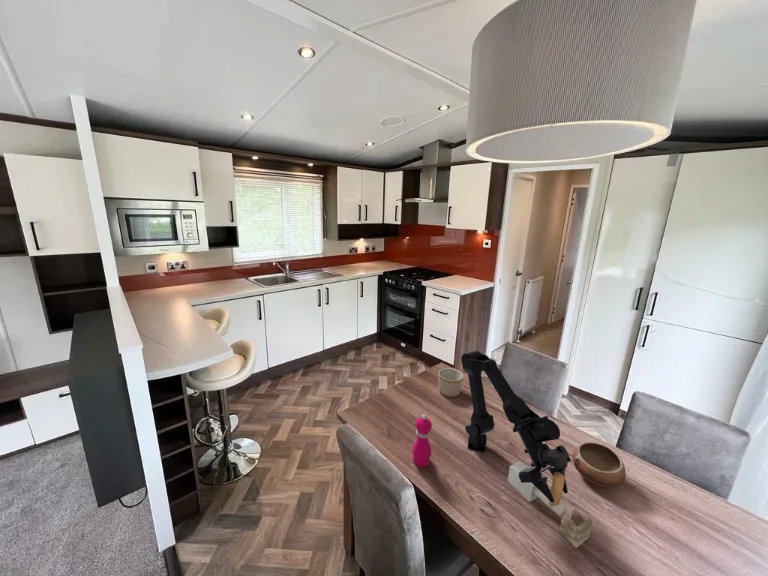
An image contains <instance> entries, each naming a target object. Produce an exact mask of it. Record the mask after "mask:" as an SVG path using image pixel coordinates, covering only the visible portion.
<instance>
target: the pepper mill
mask: <svg viewBox="0 0 768 576" xmlns="http://www.w3.org/2000/svg"><path fill="white" fill-rule="evenodd" d="M415 429H416V431H415V433H416V435H417V438H416V440H415V442H414V443H413V446H412V451H411V452H412V461H413V463H414V464H415V465H416V466H417V467H419V468H420V467H421V468H423V467H427V466H428V465H429V464H430V457H431V456H432V447H431V444H430V442H429V437H430V435H431V430H432V421H431V420H430V418H429V417H427V415H426V414H422V415H421V416H420V417H418V418H417V419H416V420H415Z"/></svg>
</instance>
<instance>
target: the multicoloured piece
mask: <svg viewBox="0 0 768 576" xmlns="http://www.w3.org/2000/svg"><path fill="white" fill-rule="evenodd" d="M565 480H566V475H565V476H564V475H563V474H562V473H560V472H555V473H554V476H553V475H552V481H551V485H550V491H551V494H552V496H553V498H554V502H551V501H550V500H549V499H548V498H547V497H546V496H545V495H544V494H543V493H542V492H541V491H540V490H539V489H538V488H537V487H535V486H534V487H533V493H534V494H535V495H536V496H538V497H537V498H538V499H540V501H542V502H543V503H544V504H545V505H546V506H547V507H548V508H550V509H551V511H552V512H554V513H555V514H556V515H557V516H558V517H560V518H561V517H564V516H565V514H566V510H567V508H566V507H565V506H563V505H562V504H561V500H562V493H563V486H564V481H565Z"/></svg>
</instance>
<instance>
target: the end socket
mask: <svg viewBox="0 0 768 576" xmlns="http://www.w3.org/2000/svg"><path fill="white" fill-rule="evenodd" d="M571 511H572V512H571V516H570V519H568V518H567V517H566V516H565V515H563V516H562V518H561V522H560V527H559V533H560V534H561V535H562V537H564V539H566V540H567V541H568V542H569V543H570V544H571V545H573V547H575V548H576V549H577V548H578V547H579V546H581V545H582V544H583V543H584V542H585V541H586V540H588V539H589V538H590V535H591V529H592V525H593V521H594V520H592V518H591V517H588V518H586V516H584V514H582V513H580V511H578V510H577V509H576V508H573V509H572V510H571Z"/></svg>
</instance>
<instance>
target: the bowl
mask: <svg viewBox="0 0 768 576" xmlns="http://www.w3.org/2000/svg"><path fill="white" fill-rule="evenodd" d="M572 463H573V466H574V468H575V469H576V471H577V472H578V473H579V475H581V476H582V477H583V478H584V479H586V480H587V481H589V482H590V483H592V484H594V485H596V486H599V487H603V488H615V487H618V486H620V485H621V484H623V483H624V481H625V479H626V475H627V473H626V472H627V471H626V467H625V464H624V462H623V460H622V458H621V457H620V456H619V454H618V453H617V452H616V451H615V450H613V448H611V447H609V446H607V445H605V444H603V443H599V442H594V441H584V442H582V443H580V444H579V445H577V446H576V448H575V449H574V451H573V454H572Z"/></svg>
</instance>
